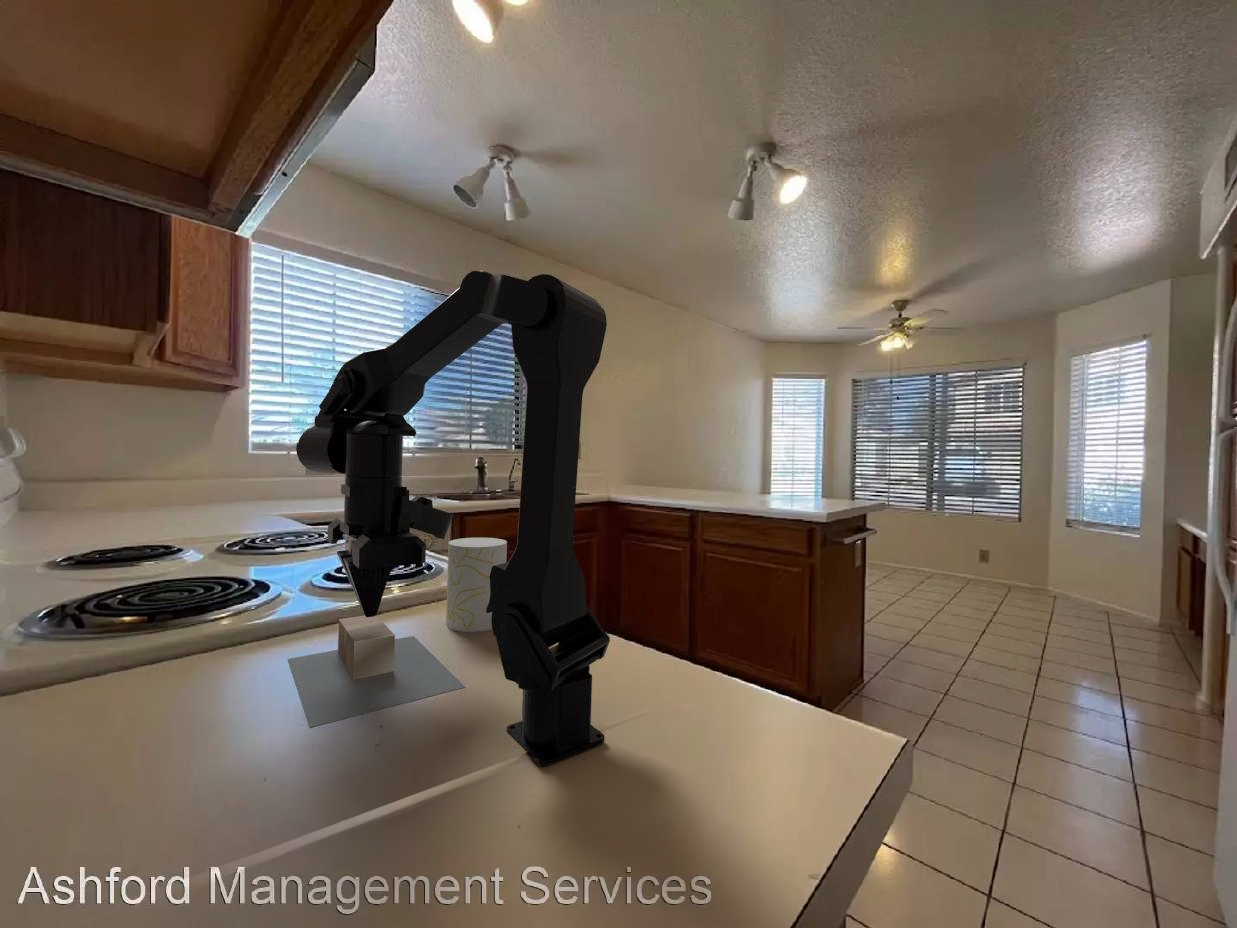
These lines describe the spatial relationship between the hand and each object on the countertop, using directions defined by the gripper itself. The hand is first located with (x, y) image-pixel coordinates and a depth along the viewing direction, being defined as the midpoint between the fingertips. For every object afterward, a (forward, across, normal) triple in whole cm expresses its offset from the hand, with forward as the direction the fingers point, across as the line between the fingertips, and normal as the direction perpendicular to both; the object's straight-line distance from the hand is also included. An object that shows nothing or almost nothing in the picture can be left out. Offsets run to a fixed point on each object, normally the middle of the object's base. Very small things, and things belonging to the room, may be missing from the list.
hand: (370, 615), depth 57 cm
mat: (+6, -2, 0) cm, 6 cm away
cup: (+6, +8, -16) cm, 19 cm away
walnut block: (+4, -2, 0) cm, 4 cm away
